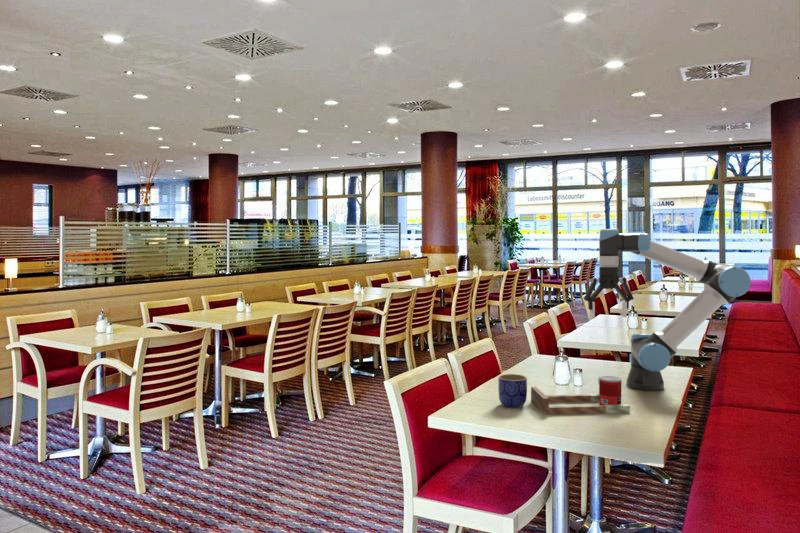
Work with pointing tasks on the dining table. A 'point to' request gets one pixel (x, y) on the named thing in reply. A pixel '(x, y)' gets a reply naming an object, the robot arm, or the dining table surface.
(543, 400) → the bay
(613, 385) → the canned food
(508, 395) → the planter
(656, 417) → the dining table surface
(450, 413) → the dining table surface
